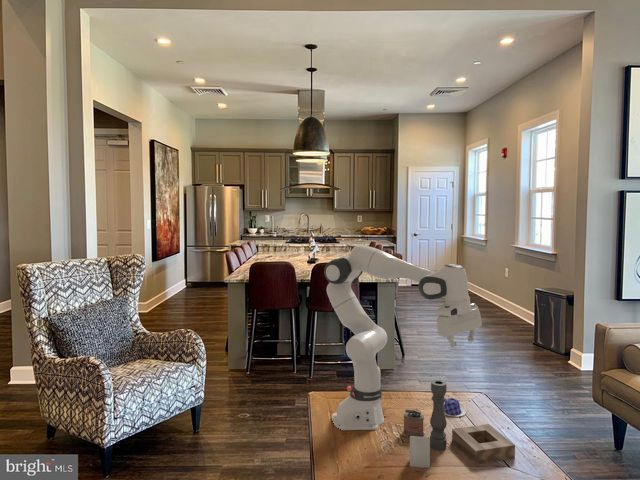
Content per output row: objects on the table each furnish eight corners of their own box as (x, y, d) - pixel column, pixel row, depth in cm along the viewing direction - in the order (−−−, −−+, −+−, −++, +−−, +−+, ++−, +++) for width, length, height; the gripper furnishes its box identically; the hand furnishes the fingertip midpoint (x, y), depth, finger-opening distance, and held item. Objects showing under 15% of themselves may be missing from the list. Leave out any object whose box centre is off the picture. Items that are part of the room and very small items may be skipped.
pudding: (446, 403, 206) (446, 392, 206) (470, 411, 198) (471, 400, 197) (433, 412, 197) (433, 400, 197) (458, 420, 189) (458, 409, 189)
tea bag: (429, 467, 155) (429, 440, 154) (410, 466, 156) (410, 439, 155) (428, 461, 159) (428, 435, 158) (409, 460, 160) (409, 433, 159)
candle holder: (447, 451, 165) (447, 386, 163) (430, 449, 166) (430, 385, 164) (445, 442, 171) (446, 380, 169) (429, 441, 172) (429, 378, 170)
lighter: (424, 433, 179) (424, 409, 178) (423, 437, 175) (423, 413, 175) (404, 430, 181) (404, 406, 180) (402, 434, 178) (402, 410, 177)
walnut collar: (475, 464, 157) (475, 450, 156) (452, 441, 172) (452, 428, 172) (514, 458, 160) (515, 445, 160) (488, 436, 176) (488, 423, 175)
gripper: (470, 301, 173) (474, 336, 174) (432, 311, 163) (436, 348, 163) (483, 303, 168) (487, 339, 168) (445, 312, 158) (449, 351, 158)
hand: (462, 343), depth 166 cm, fingers open, 8 cm apart
